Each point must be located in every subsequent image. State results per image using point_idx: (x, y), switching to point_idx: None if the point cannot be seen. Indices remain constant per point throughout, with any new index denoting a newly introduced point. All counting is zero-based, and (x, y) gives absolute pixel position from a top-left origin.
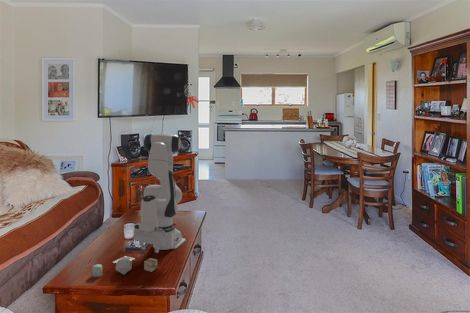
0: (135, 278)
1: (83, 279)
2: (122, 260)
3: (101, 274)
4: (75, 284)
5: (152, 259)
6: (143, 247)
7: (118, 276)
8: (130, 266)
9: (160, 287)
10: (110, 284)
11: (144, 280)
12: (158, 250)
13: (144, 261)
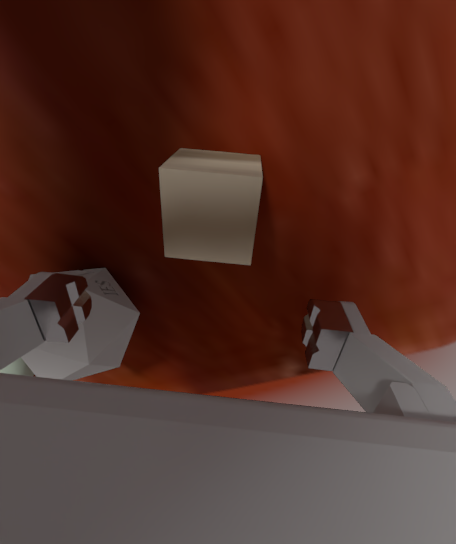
0: (215, 324)
1: None
2: (66, 378)
3: None
4: None
5: (208, 192)
6: (73, 330)
7: None
8: (129, 325)
9: None
10: (155, 386)
11: (277, 327)
12: (359, 326)
13: (169, 256)
